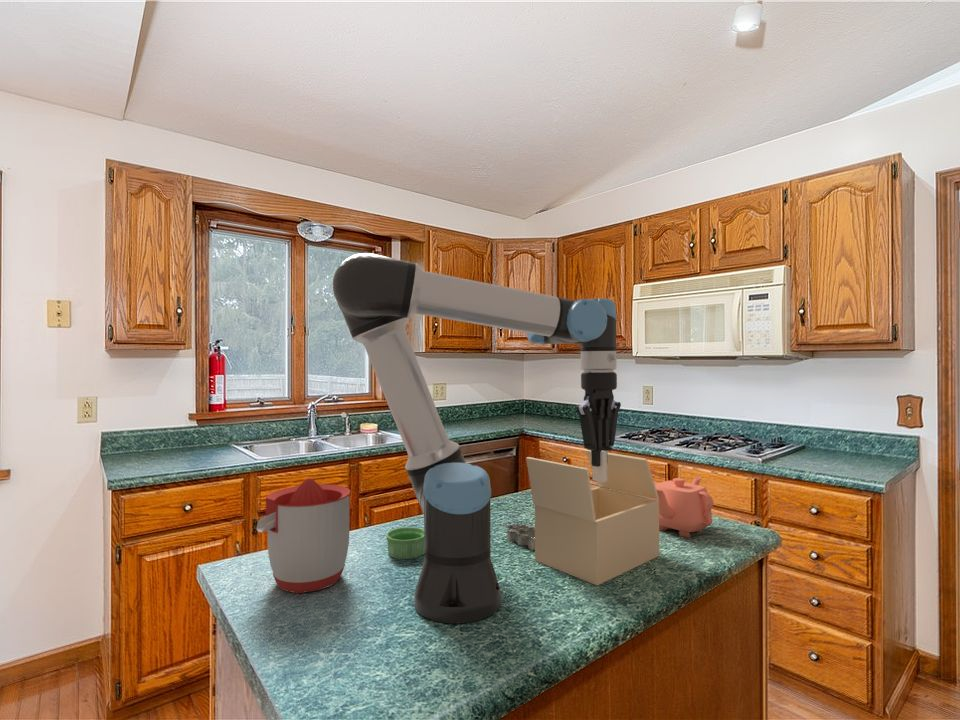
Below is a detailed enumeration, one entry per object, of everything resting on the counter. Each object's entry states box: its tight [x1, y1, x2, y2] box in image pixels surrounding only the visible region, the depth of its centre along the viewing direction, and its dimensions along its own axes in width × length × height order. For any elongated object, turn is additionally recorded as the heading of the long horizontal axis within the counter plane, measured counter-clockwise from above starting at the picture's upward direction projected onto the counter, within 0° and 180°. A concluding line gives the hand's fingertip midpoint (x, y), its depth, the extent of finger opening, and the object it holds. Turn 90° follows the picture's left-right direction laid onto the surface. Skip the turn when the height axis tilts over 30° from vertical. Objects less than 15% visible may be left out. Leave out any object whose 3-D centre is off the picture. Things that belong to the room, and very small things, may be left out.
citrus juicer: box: [256, 477, 351, 594], centre depth 99 cm, size 16×17×20 cm
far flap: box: [585, 449, 659, 500], centre depth 116 cm, size 10×16×1 cm
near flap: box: [525, 456, 596, 522], centre depth 102 cm, size 10×16×1 cm
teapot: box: [649, 476, 714, 538], centre depth 129 cm, size 15×17×13 cm
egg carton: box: [503, 522, 535, 550], centre depth 121 cm, size 11×8×4 cm
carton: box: [534, 487, 660, 586], centre depth 110 cm, size 22×16×12 cm
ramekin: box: [385, 526, 425, 560], centre depth 114 cm, size 9×9×4 cm
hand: (599, 480), depth 111 cm, fingers closed
